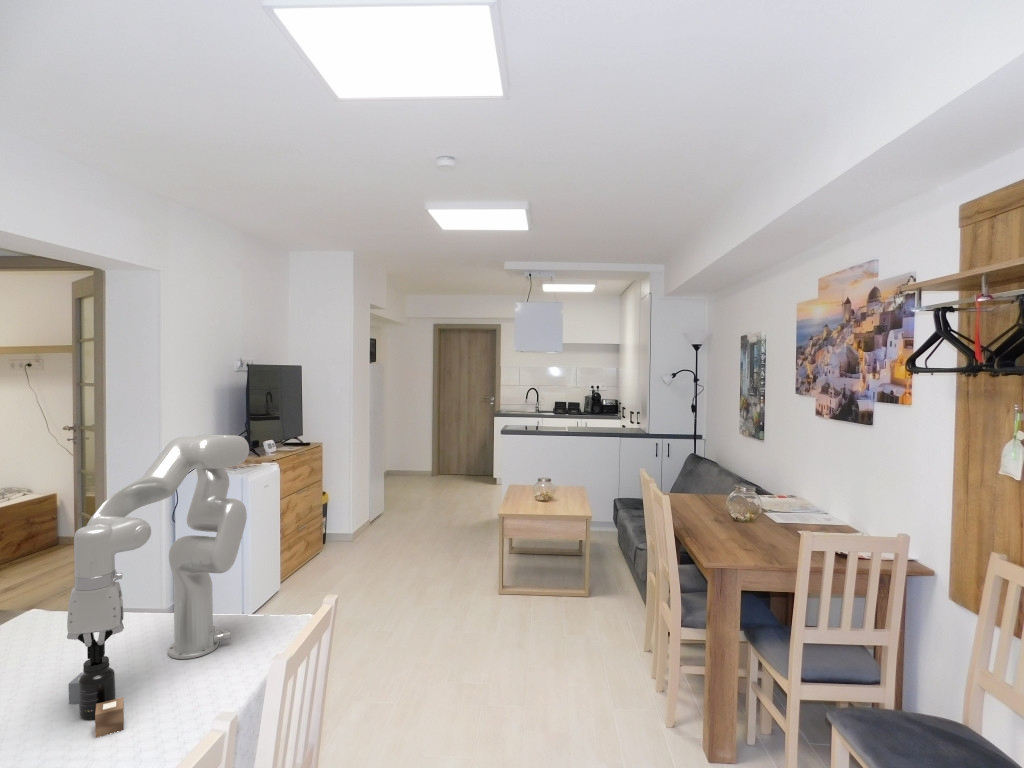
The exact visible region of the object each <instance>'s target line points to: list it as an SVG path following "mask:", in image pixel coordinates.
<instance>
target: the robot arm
mask: <svg viewBox="0 0 1024 768" xmlns="http://www.w3.org/2000/svg"><path fill="white" fill-rule="evenodd" d="M249 453H250V446H249V443H248V441H247V440H246V438H244V437H243V436H240V435H235V434H234V435H233V434H232V435H230V434H200V435H196V436H181V437H180V436H178V437H175V438H174V439H172V440H170V442H169V443H168V444H167V445H165V447H164V448H163V450H162V451H161V453H160V454H159V455H158V457H157V458H156V459H155V460H154V461H153V462H152V464H150V467H149V468H148V469H147V470H146V471H145V473H144V474H143V475H142V476H141V477H140V478H138V479H137V480H135V481H133V482H131V483H130V484H128V485H126V486H125V487H122V488H121V489H119V490H117V491H116V492H114V493H113V494H112V495H110V496H109V497H107V498H106V499H105V500H104V501H103V503H101V505H100V506H99V507H98V508H97V509H96V511H95V512H94V513H93V514H92V515H91V517H90V519H89V520H88V522H87V523H86V526H82V527H80V528H79V529H77V530H76V531H75V533H74V536H73V538H74V539H73V544H74V545H73V547H74V548H73V549H74V551H73V553H74V555H73V557H74V564H73V565H74V587H72V589H71V591H70V596H69V602H68V608H67V620H66V623H67V624H66V627H67V628H66V629H67V636H66V639H67V640H76V641H77V640H78V641H80V642H81V643H83V644H84V646H85V647H86V649H87V660H89V659H90V664H93V663H99V662H100V660H101V658H102V657H104V656H106V655H105V654H106V653H105V652H106V651H105V650H106V647H105V645H106V642H107V640H108V639H110V637H111V636H114V635H117V634H120V633H122V632H123V631H124V629H125V627H124V623H123V620H124V619H125V618H124V617H125V616H124V613H125V612H124V603H123V602H124V601H123V593H122V587H121V584H120V582H119V581H118V580H121V579H122V580H123V572H117V570H116V562H115V561H116V559H115V558H116V557H115V555H116V554H119V553H122V552H130V551H134V550H136V549H139V548H142V547H143V546H144V545H146V543H147V542H148V541H149V539H150V537H151V535H152V528H151V525H150V523H148V521H146V520H145V519H142V518H138V517H129V516H128V515H130V514H131V513H132V512H134V511H135V510H136V511H137V510H138V509H140V508H142V507H144V506H148V505H151V504H155V503H157V502H160V501H163V500H166V499H168V498H170V497H171V496H173V495H174V494H175V493H176V491H177V490H178V488H179V487H180V485H181V484H182V483H183V481H184V480H185V479H186V477H187V476H188V475H189V473H190V472H191V470H194V469H195V470H196V474H197V481H196V486H195V488H194V489H195V490H194V493H193V494H192V495H193V496H192V498H191V502H190V506H189V508H188V512H187V516H186V524H187V526H188V527H189V529H191V530H194V531H197V532H206V533H207V532H208V533H216V536H208V535H207V536H206V535H194V534H193V535H185V536H181V537H179V538H177V539H175V541H174V542H173V543H172V544H171V546H170V548H169V551H168V561H169V566H170V570H171V575H172V581H173V614H174V615H173V621H174V623H173V626H174V628H173V631H174V635H173V636H174V642H173V643H172V644H171V645H170V646H169V647H168V649H167V653H168V654H167V655H168V656H169V657H171V658H173V659H176V660H188V659H189V660H190V659H194V658H195V659H196V658H200V657H203V656H206V655H208V654H210V653H212V652H213V651H215V650H216V649H217V648H218V647H219V646H220V641H221V640H224V641H225V640H230V639H231V631H227V629H221V630H218V629H216V626H215V625H214V616H213V615H214V614H213V611H214V609H213V607H214V605H213V604H214V603H213V581H212V577H211V574H223V573H226V572H227V573H228V571H230V569H231V568H233V565H234V564H235V561H236V559H237V557H238V554H239V550H240V546H241V543H242V538H243V535H244V530H245V528H246V527H245V526H246V524H247V517H248V513H247V509H246V506H245V504H244V502H243V501H241V500H239V499H236V498H227V497H228V492H229V488H230V477H229V474H228V472H227V470H226V468H230V467H236V466H239V465H240V464H243V463H244V462H245V461H246V459H248V456H249ZM94 633H98V638H97V640H96V639H95V634H94Z"/></svg>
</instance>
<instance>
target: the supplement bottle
mask: <svg viewBox="0 0 1024 768" xmlns="http://www.w3.org/2000/svg"><path fill="white" fill-rule="evenodd" d="M82 669H83V670H82V673H84V674H83V675H82V676H81V677H80V679H79V704H78V706H79V716H80V718H81V719H83V720H85V721H87V720H88V721H92V720H93V721H94V720H95V712H96V704H98V703H102V702H106V701H110V700H114V699H117V698H116V697H117V696H116V672H115V670H114V669H113V668H112V667H111V666H110V659H109V657H108V656H107V655H104V657H102V658H101V660H100V662H99V663H93V664H90V659H87V660H86V661H84V662H83V668H82Z"/></svg>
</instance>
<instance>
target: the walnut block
mask: <svg viewBox="0 0 1024 768" xmlns="http://www.w3.org/2000/svg"><path fill="white" fill-rule="evenodd" d="M124 702H125V701H124V697H119V698H116V699H114V700H110V701H106V702H102V703H98V704H96V712H95V719H94V720H95V723H94V724H95V725H94V726H95V729H94V731H95V738H100V736H101V737H104V736H108V735H111V734H110V733H112V734H115V733H118V732H117V731H119V732H122V731H121V730H123V731H124V725H125V724H124V723H125V717H124V716H125V715H124V714H125V711H124V706H125V705H124ZM114 732H115V733H114ZM107 734H108V735H107Z"/></svg>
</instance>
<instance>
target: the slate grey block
mask: <svg viewBox="0 0 1024 768" xmlns="http://www.w3.org/2000/svg"><path fill="white" fill-rule="evenodd" d="M83 674H84V672H80V673H78V675H76V676H75V677H74V678H73V679H72V680H71V681H70V682H69V683H68V685H67V686H68V705H79V679H80V677H81V676H82V675H83Z"/></svg>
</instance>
